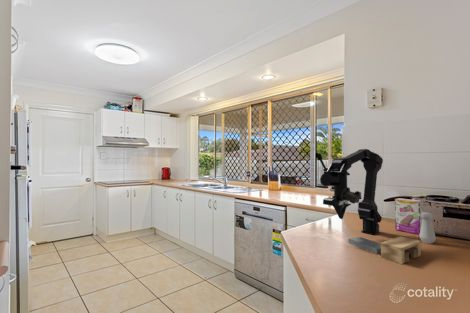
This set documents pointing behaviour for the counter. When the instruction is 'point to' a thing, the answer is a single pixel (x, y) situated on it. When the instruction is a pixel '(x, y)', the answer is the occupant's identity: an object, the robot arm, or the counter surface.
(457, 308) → the counter surface
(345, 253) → the counter surface
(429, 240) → the salt shaker
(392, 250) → the oak block
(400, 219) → the candy bar box
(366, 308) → the counter surface
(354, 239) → the slate tile
